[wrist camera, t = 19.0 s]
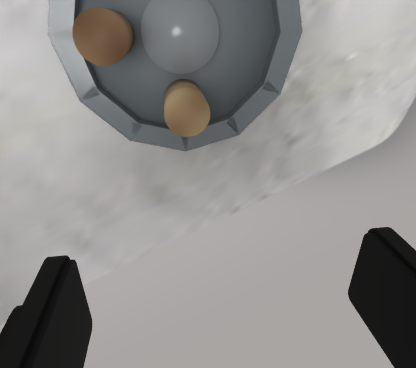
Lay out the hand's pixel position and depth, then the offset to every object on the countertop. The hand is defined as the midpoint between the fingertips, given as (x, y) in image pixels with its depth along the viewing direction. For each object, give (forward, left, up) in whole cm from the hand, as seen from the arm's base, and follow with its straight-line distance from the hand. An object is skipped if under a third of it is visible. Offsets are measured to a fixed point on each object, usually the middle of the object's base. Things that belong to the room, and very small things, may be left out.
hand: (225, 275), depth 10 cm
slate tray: (+4, +4, -26) cm, 27 cm away
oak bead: (0, 0, -25) cm, 25 cm away
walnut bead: (0, +9, -25) cm, 27 cm away
